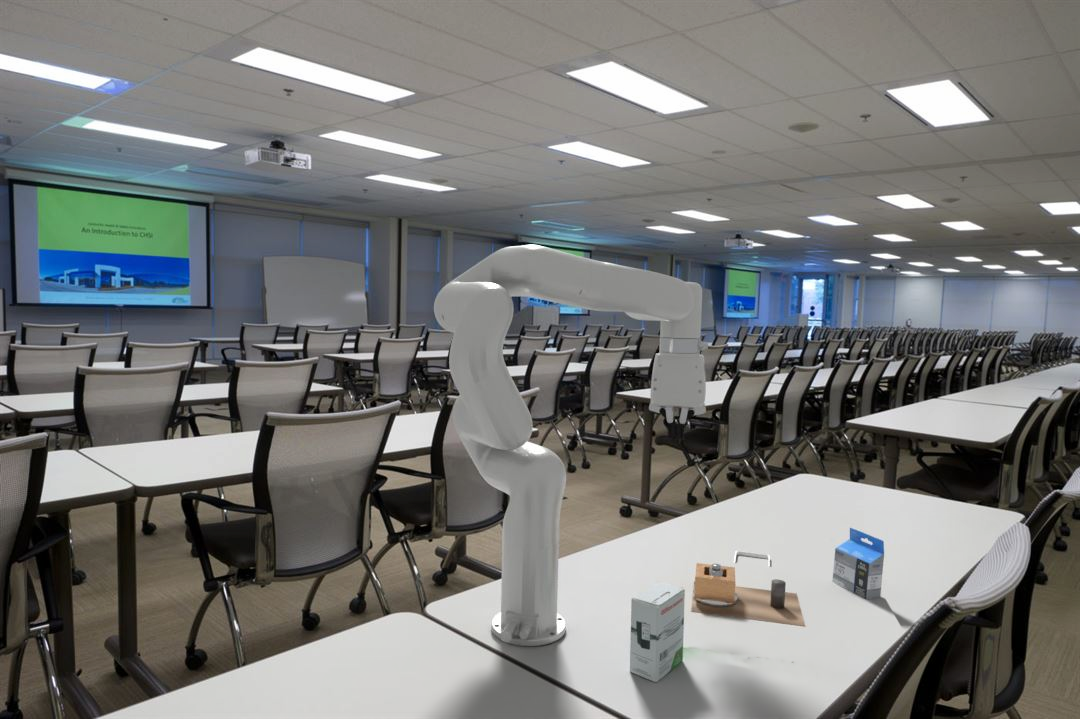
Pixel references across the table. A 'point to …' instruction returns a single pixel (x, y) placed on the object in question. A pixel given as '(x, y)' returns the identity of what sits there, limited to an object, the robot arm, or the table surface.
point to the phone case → (752, 555)
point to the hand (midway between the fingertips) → (675, 442)
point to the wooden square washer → (715, 584)
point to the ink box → (657, 630)
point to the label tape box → (859, 565)
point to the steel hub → (713, 571)
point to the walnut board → (760, 605)
